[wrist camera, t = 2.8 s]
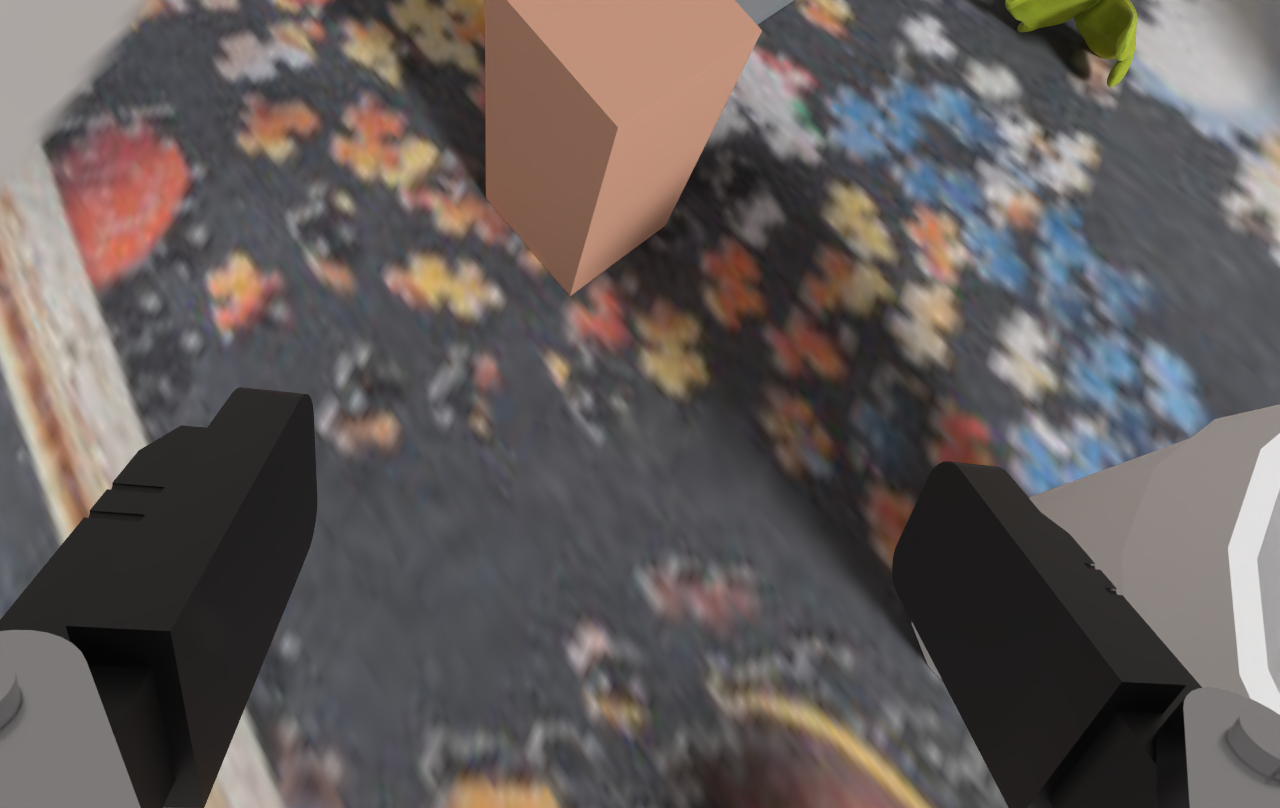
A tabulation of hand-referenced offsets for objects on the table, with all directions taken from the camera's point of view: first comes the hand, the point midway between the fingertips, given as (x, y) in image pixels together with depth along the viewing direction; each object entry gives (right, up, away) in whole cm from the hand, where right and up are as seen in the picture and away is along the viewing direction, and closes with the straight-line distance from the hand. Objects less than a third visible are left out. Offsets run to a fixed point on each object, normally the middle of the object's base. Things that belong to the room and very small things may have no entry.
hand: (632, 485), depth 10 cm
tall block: (-2, +8, +17) cm, 19 cm away
